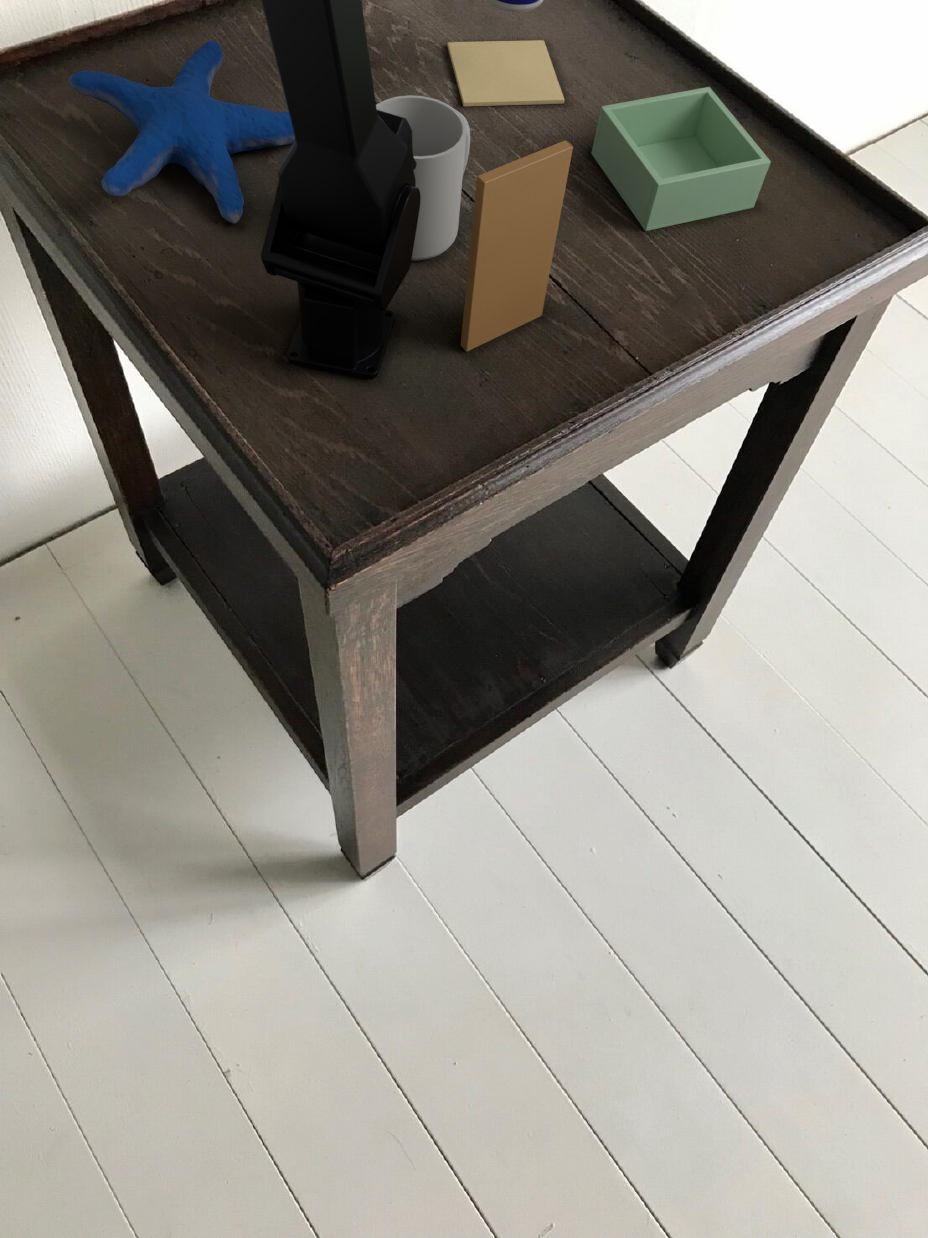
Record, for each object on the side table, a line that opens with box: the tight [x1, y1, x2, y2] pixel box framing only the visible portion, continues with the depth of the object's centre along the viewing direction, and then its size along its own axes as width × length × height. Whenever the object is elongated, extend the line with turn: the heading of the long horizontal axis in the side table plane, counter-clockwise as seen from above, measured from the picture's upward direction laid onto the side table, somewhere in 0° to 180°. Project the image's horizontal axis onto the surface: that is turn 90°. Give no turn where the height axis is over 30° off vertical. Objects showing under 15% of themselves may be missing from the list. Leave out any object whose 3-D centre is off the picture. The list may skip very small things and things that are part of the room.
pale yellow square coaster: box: [446, 39, 565, 107], centre depth 90 cm, size 9×9×1 cm
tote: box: [591, 86, 772, 232], centre depth 83 cm, size 10×10×4 cm
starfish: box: [68, 39, 295, 224], centre depth 80 cm, size 19×19×5 cm
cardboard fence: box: [460, 140, 574, 353], centre depth 68 cm, size 7×1×14 cm, turn 126°
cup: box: [376, 94, 471, 262], centre depth 76 cm, size 7×10×9 cm
